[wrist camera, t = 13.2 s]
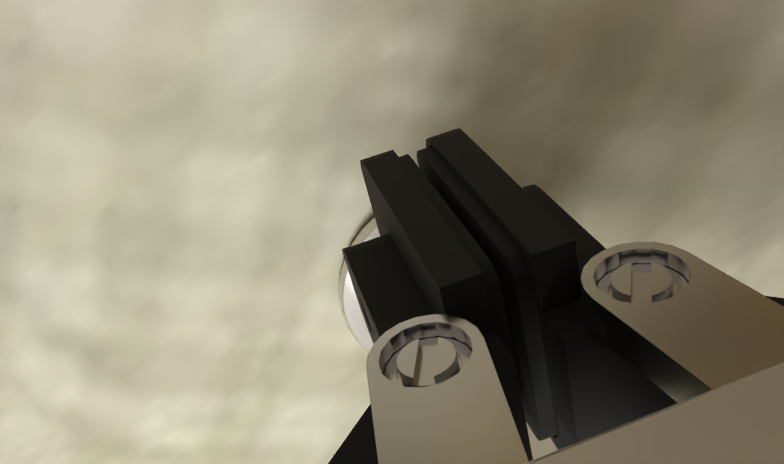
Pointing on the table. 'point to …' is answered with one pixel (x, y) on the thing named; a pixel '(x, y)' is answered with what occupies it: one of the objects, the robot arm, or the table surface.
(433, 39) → the table surface
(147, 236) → the table surface
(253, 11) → the table surface
